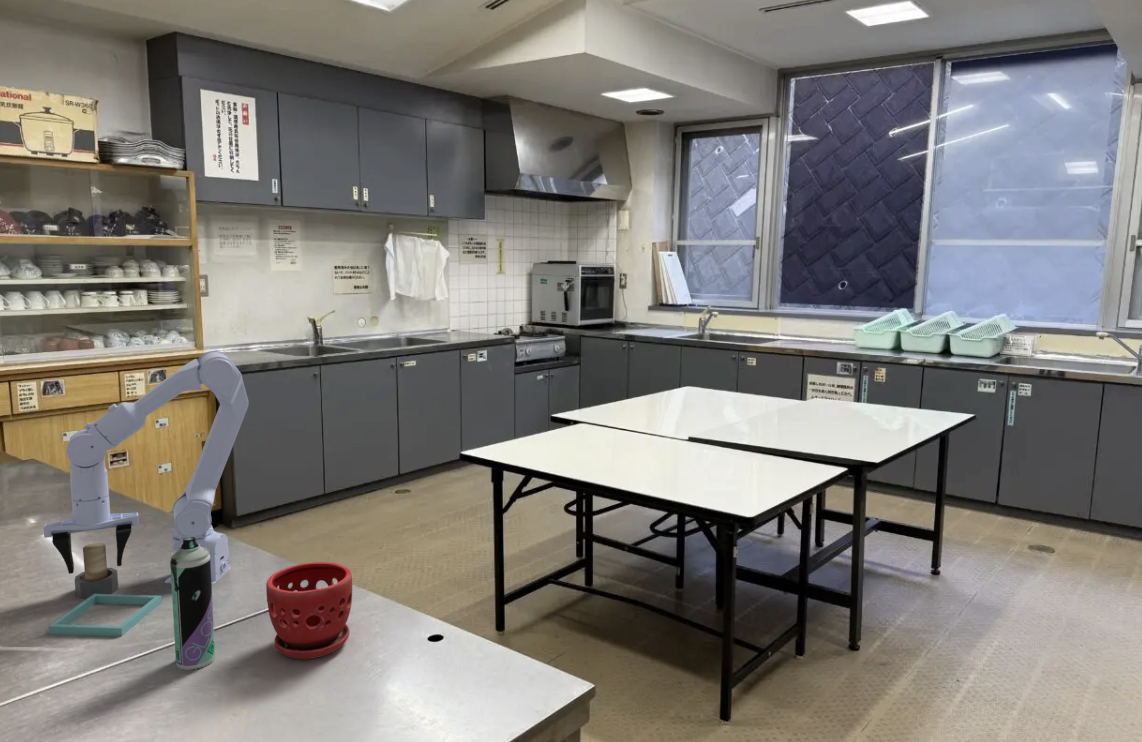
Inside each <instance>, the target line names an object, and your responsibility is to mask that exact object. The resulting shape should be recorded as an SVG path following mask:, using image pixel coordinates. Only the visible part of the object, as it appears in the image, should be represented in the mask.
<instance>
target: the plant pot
mask: <svg viewBox="0 0 1142 742" xmlns="http://www.w3.org/2000/svg"><path fill="white" fill-rule="evenodd" d="M334 579H336V581H337V582H336V583H334V581H333V580H334ZM304 581H307V585H306V586H301V583H302V582H304ZM320 581H323V582H324V583H326V585H327V586H325V587H321V588H317V584H318V582H320ZM265 584H266V593H265V594H266V603H267V608H268V609H267V610H268V614H269V618H270V621H271V625H272V626H273V629H274V632H275V633H276V635H275V636H274V642H273V643H274V647H275V648H276V650H277V651H278V652H279V653H281V655H284V656H286V657H289V658H291V659H292V658H294V659H303V660H305V659H314V658H320V657H323V656H324V657H325V656H326V655H330V654H329V653H331V652H332V653H333V652H335V651H336V650H338V649H340V648H341V647H342V646H343V645H344V644H345V643H346V642H347V640H348V639H349V636H350V627H349V625H348V624H347V621H348V620H349V616H350V613H351V608H352V601H353V577H352V571H351V570H350V568H349V567H347V566H345V565H344V564H341V563H336V562H330V561H329V562H328V561H319V562H317V561H316V562H306V563H301V564H300V563H299V564H296V565H291V566H287V567H286V568H283V569H280V570H278V571H277V572H275V573H273V574H271V575H270V576H269V577H268V579H267V580H266V583H265ZM290 584H292V585H291V586H290V587H289V585H290ZM332 653H331V654H332Z"/></svg>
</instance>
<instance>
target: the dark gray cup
mask: <svg viewBox="0 0 1142 742" xmlns="http://www.w3.org/2000/svg"><path fill="white" fill-rule="evenodd" d="M107 574H108V577H106V578H103V579H100V580H95V581H85V571H81V572H80V573H78V574H76V575H75V577H74V591H75V597H77V598H79V599H84V600H86V599H88V598H89V597H90V596H92V595H93V594H114V593H115V592H117V591H118V590H119V575H118V569H116V568H114V567H107Z"/></svg>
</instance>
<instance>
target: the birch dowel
mask: <svg viewBox="0 0 1142 742" xmlns="http://www.w3.org/2000/svg"><path fill="white" fill-rule="evenodd" d="M82 554H83V555H82V556H83V569H84V572H85V581H95V580H100V579H103V578H106V577H108V574H107V568H108V564H107V563H108V562H107V550H106V544H105V543H104V542H96V543H95V542H94V543H90V544H89V543H88V544H86V545H85V546H83V547H82Z"/></svg>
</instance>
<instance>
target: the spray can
mask: <svg viewBox="0 0 1142 742" xmlns="http://www.w3.org/2000/svg"><path fill="white" fill-rule="evenodd" d="M169 560H170V561H169V563H170V577H171V581H170V582H171V583H170V584H171V596H172V597H171V599H172V615H173V616H172V617H173V618H172V619H173V631H174V632H173V635H174V650H175V652H174V654H175V664H176V667H177V668H178V669H179V670H182V669H184V670H183V671H192V670H191V669H195V670H198V669H197V668H200V669H202V668H201V667H203V668H205V667H207V666H209V665H211V664H212V663H213V662H214V661H215V659H216V649H215V647H216V646H215V645H216V643H215V626H214V625H215V624H214V606H213V604H214V603H213V586H212V585H213V584H212V582H211V562H210V555H209V550H208V549H207V548H203V547H200V544H197V542H196V539H195V537H191V538H188V539H183V544H182V546H180V548H179V550H178V551H176V552H174V553H173V552H172V554H171V555H170V559H169ZM213 660H214V661H213ZM212 661H213V662H212ZM211 662H212V663H211ZM210 663H211V664H210ZM208 664H209V665H208ZM206 665H207V666H206ZM204 666H205V667H204Z"/></svg>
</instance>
